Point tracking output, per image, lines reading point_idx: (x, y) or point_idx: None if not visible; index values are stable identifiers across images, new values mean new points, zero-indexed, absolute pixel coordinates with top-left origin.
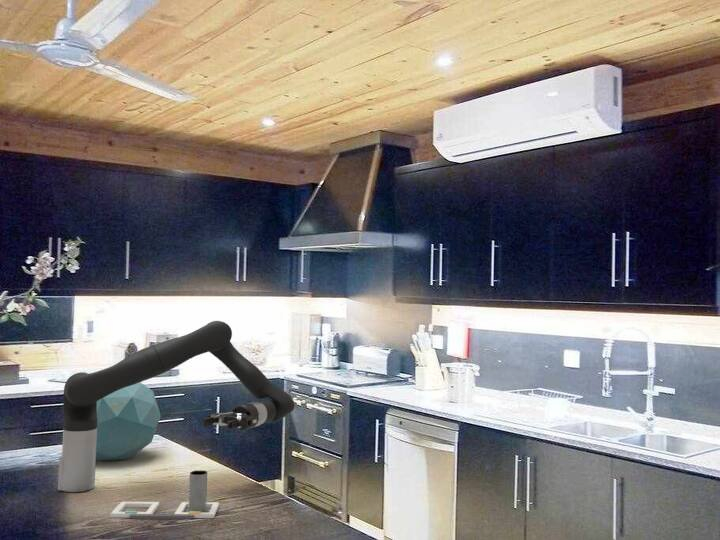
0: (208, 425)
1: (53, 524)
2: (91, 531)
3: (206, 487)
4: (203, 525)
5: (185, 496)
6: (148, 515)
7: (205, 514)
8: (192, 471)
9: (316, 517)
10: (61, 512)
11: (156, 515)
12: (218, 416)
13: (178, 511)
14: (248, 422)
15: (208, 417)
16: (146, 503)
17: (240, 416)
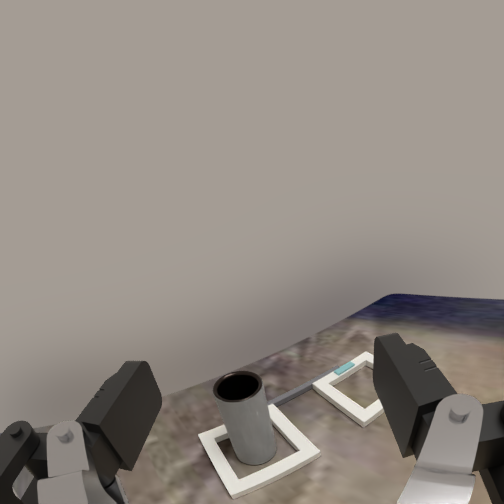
0: (383, 406)
1: (389, 316)
2: (330, 331)
3: (222, 419)
4: (199, 409)
5: (381, 500)
6: (311, 380)
7: (214, 429)
8: (260, 382)
9: (23, 481)
10: (433, 327)
11: (299, 387)
12: (416, 465)
13: (276, 414)
14: (18, 502)
15: (498, 402)
16: (374, 402)
17: (46, 478)
